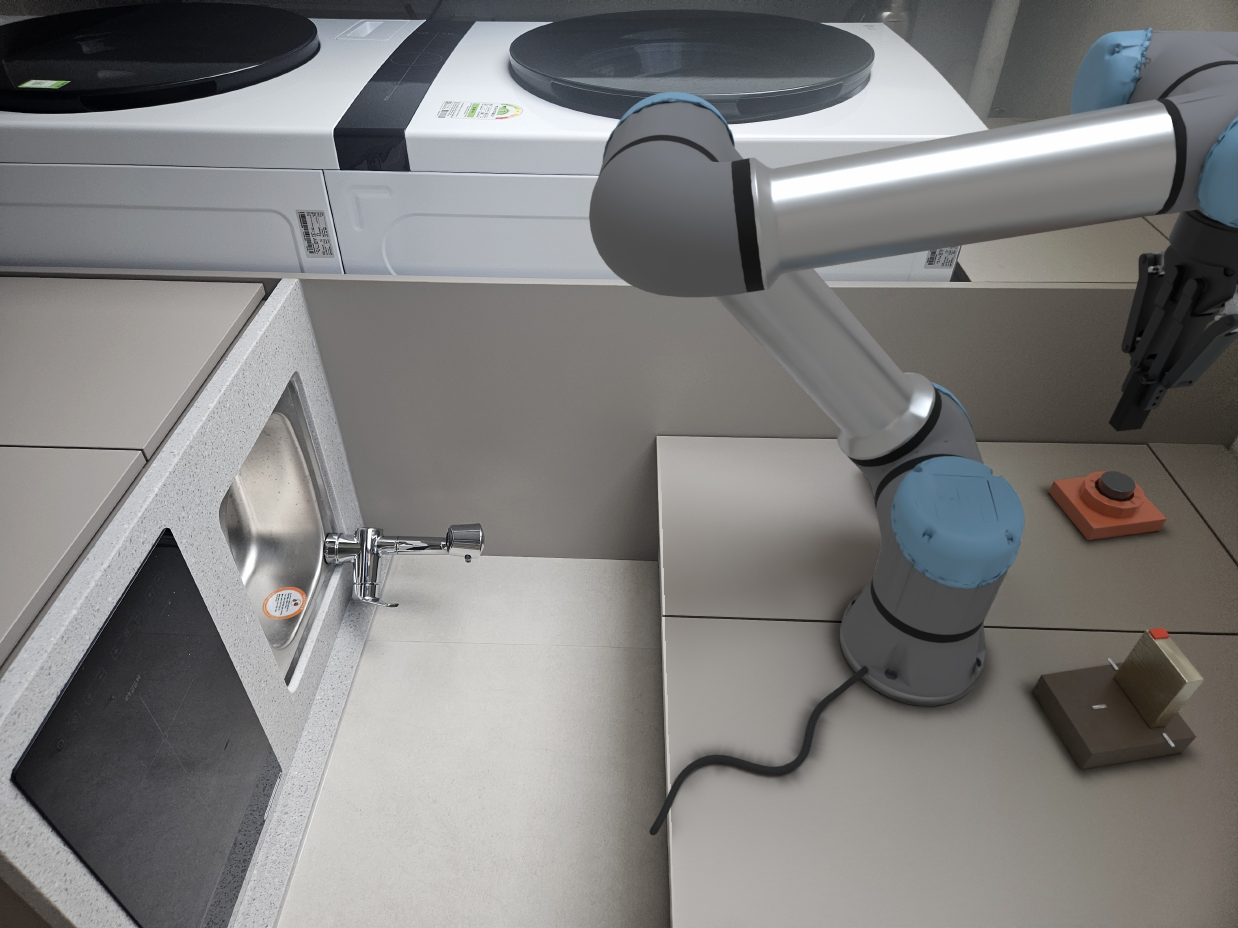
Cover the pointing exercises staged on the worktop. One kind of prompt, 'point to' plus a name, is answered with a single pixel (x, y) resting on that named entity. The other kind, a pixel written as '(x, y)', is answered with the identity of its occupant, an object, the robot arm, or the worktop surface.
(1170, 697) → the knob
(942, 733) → the worktop surface
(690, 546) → the worktop surface
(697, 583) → the worktop surface
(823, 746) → the worktop surface
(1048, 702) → the panel
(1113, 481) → the button
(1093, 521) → the button box
